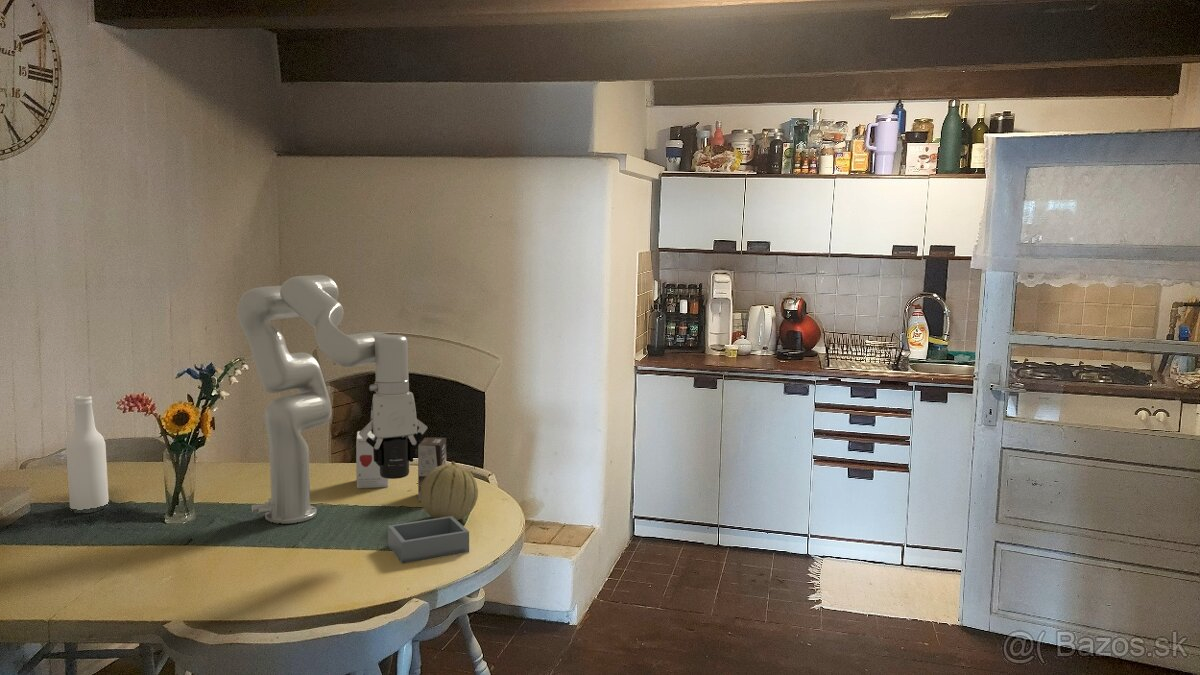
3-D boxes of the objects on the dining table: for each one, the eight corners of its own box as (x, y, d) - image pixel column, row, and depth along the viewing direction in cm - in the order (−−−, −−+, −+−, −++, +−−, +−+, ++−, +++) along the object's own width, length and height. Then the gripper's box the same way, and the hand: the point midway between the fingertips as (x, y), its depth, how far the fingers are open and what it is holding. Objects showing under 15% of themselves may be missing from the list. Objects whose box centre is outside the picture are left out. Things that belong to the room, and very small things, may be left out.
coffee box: (440, 502, 239) (440, 445, 237) (417, 501, 239) (417, 444, 237) (447, 492, 248) (447, 437, 246) (424, 491, 248) (424, 436, 246)
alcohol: (75, 504, 231) (68, 394, 227) (112, 502, 233) (106, 392, 229) (66, 515, 222) (58, 400, 218) (104, 512, 225) (98, 399, 221)
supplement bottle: (394, 481, 200) (392, 430, 199) (373, 476, 204) (371, 426, 202) (415, 474, 206) (414, 424, 204) (395, 469, 210) (393, 421, 208)
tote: (402, 563, 196) (402, 542, 196) (388, 545, 207) (387, 525, 206) (469, 552, 204) (469, 531, 203) (452, 535, 214) (452, 515, 214)
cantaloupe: (418, 530, 217) (418, 472, 215) (421, 511, 232) (421, 456, 229) (478, 528, 219) (478, 471, 217) (477, 509, 234) (477, 455, 232)
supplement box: (356, 489, 249) (355, 438, 247) (357, 479, 258) (356, 430, 256) (388, 487, 251) (388, 437, 249) (388, 478, 260) (388, 429, 258)
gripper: (358, 393, 195) (361, 471, 197) (433, 387, 203) (435, 461, 205) (351, 388, 202) (353, 463, 204) (424, 382, 210) (425, 454, 212)
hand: (394, 461), depth 205 cm, fingers closed on supplement bottle, 6 cm apart
